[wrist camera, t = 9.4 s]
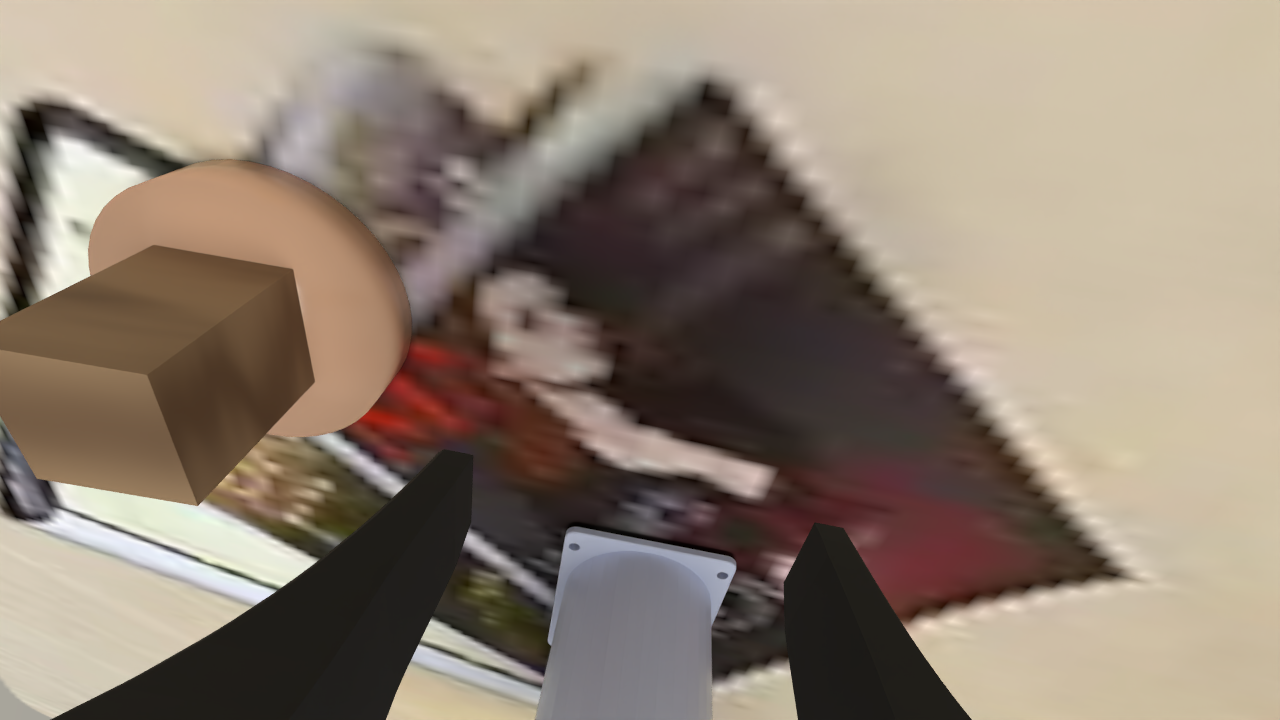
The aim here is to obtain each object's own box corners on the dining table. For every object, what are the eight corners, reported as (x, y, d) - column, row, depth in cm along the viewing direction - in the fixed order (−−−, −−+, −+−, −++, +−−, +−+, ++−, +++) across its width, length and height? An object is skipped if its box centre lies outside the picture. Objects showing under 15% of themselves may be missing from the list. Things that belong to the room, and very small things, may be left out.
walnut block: (315, 381, 21) (198, 506, 16) (192, 360, 21) (37, 478, 16) (293, 268, 19) (146, 374, 14) (154, 244, 19) (-44, 342, 14)
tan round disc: (423, 416, 25) (397, 456, 23) (190, 376, 25) (144, 412, 23) (406, 184, 20) (371, 209, 18) (108, 132, 20) (37, 150, 18)
